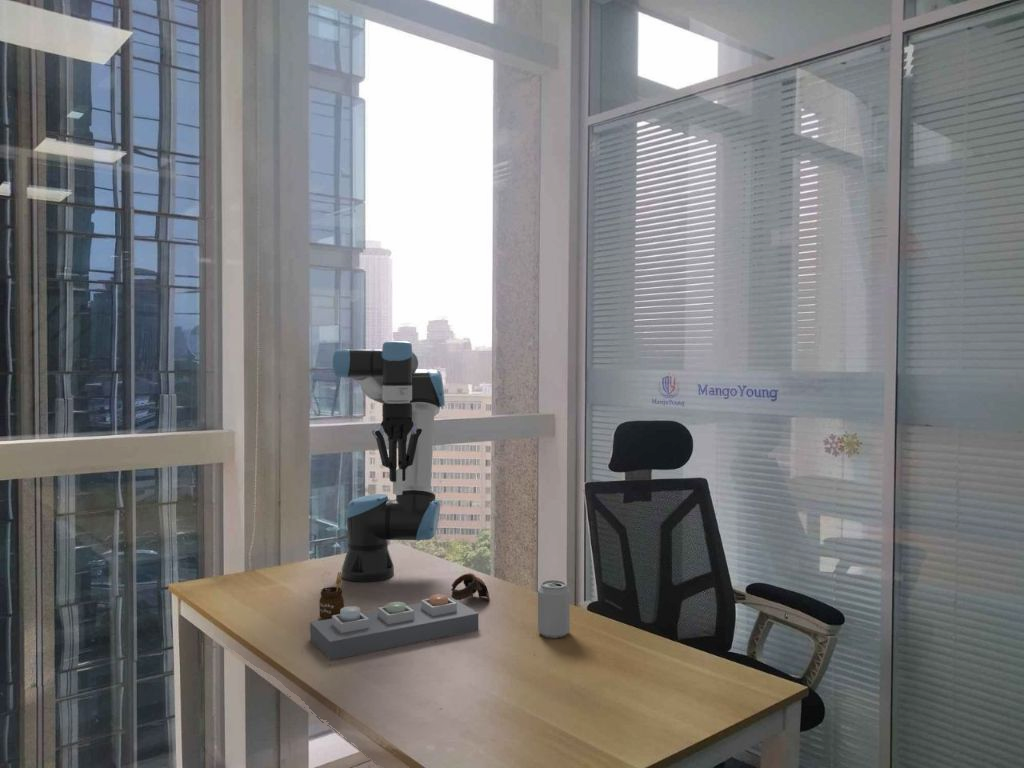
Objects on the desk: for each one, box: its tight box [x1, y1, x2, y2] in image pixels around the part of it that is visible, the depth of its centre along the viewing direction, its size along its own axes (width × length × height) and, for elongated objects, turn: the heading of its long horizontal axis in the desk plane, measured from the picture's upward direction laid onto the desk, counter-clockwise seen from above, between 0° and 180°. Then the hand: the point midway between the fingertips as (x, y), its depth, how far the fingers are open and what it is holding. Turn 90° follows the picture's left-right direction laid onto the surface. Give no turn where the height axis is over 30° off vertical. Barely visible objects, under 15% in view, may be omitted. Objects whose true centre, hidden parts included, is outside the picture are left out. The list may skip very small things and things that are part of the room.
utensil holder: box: [318, 570, 345, 620], centre depth 194 cm, size 6×6×12 cm
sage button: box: [385, 601, 406, 614], centre depth 183 cm, size 4×4×2 cm
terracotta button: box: [429, 594, 449, 606], centre depth 188 cm, size 4×4×2 cm
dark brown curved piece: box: [450, 572, 491, 603], centre depth 209 cm, size 12×10×8 cm
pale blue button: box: [340, 605, 361, 622], centre depth 177 cm, size 4×4×2 cm
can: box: [537, 579, 571, 639], centre depth 184 cm, size 8×8×12 cm
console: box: [309, 597, 479, 661], centre depth 183 cm, size 14×36×6 cm, turn 121°
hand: (397, 494), depth 201 cm, fingers closed
